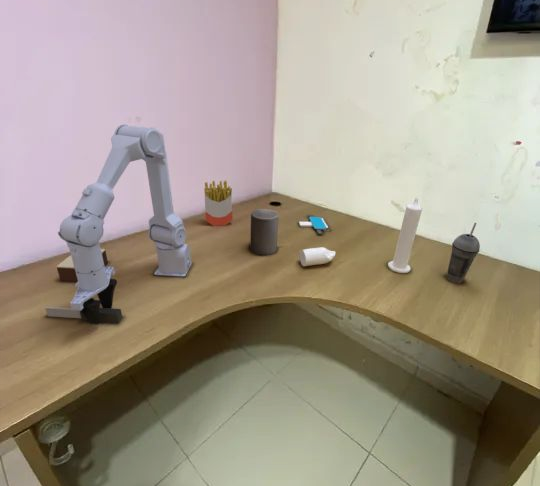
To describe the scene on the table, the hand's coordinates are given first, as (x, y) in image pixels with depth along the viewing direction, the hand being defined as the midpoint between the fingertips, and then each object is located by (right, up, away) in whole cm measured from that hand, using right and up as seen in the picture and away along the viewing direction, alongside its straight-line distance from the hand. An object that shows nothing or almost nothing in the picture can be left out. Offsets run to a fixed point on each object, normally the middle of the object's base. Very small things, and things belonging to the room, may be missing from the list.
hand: (101, 314), depth 75 cm
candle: (+84, +8, +29) cm, 89 cm away
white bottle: (+57, +9, +29) cm, 65 cm away
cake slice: (-15, +10, +23) cm, 29 cm away
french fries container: (+19, +23, +56) cm, 63 cm away
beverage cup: (+100, +5, +24) cm, 103 cm away
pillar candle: (+39, +14, +37) cm, 55 cm away
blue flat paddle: (+60, +23, +58) cm, 86 cm away
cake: (-15, +7, +17) cm, 24 cm away
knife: (-5, -1, +1) cm, 5 cm away
